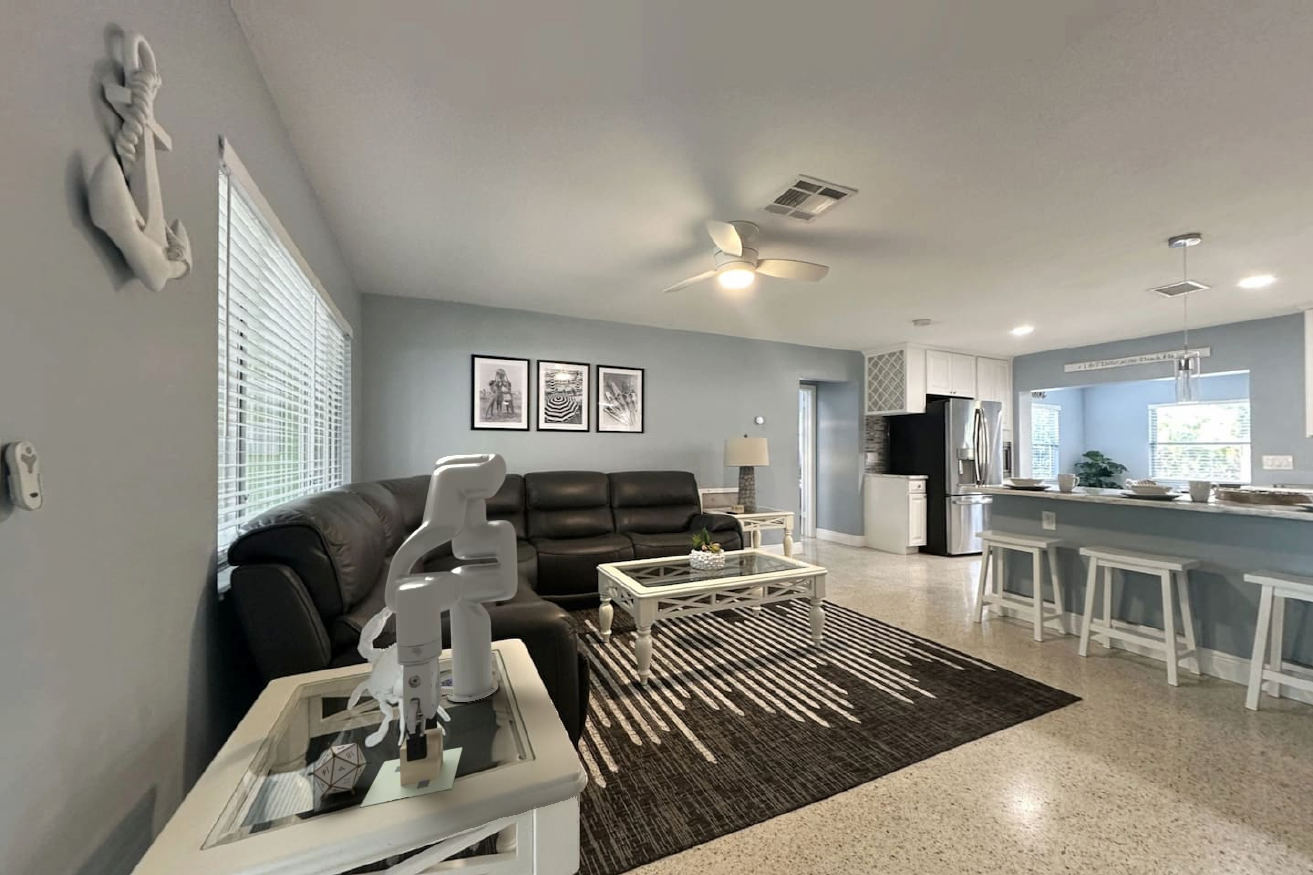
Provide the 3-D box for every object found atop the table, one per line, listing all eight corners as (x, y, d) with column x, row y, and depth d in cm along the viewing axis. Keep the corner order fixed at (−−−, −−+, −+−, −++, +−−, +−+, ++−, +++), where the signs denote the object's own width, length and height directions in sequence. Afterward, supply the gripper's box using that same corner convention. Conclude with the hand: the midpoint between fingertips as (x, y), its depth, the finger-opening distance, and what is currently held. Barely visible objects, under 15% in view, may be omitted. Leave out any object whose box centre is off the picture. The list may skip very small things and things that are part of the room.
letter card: (384, 762, 95) (384, 761, 95) (462, 747, 98) (462, 746, 98) (360, 807, 81) (360, 806, 81) (451, 788, 85) (451, 787, 85)
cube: (408, 766, 92) (407, 733, 93) (443, 760, 94) (442, 727, 94) (400, 785, 87) (399, 749, 87) (437, 777, 88) (436, 742, 89)
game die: (341, 820, 84) (325, 792, 79) (307, 795, 87) (289, 766, 82) (386, 769, 91) (374, 740, 86) (353, 747, 94) (339, 717, 89)
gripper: (432, 663, 85) (436, 767, 84) (448, 632, 102) (452, 718, 101) (384, 670, 83) (387, 776, 82) (408, 637, 100) (411, 725, 99)
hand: (423, 744), depth 91 cm, fingers open, 9 cm apart
